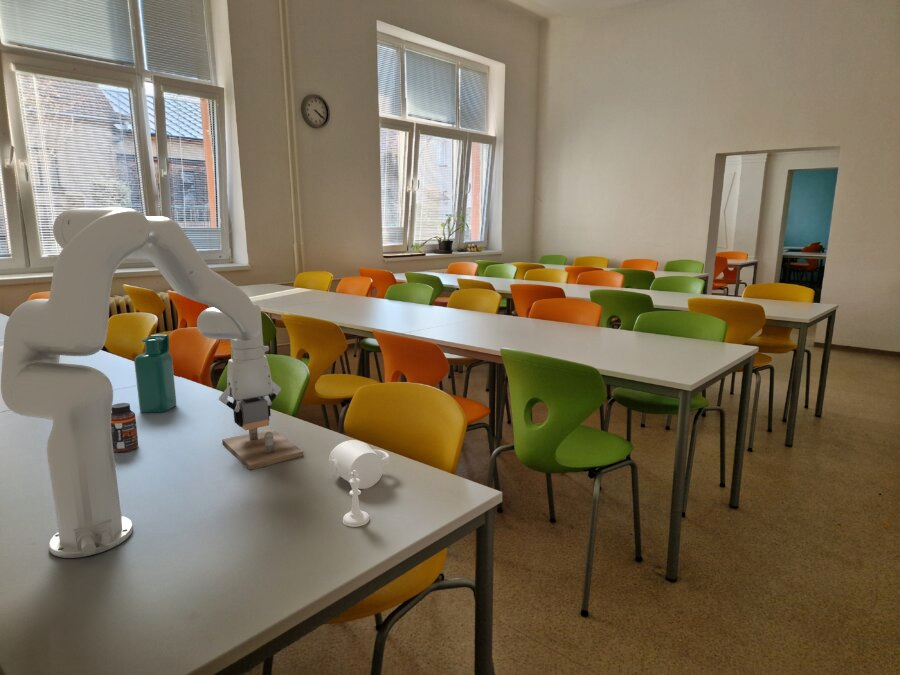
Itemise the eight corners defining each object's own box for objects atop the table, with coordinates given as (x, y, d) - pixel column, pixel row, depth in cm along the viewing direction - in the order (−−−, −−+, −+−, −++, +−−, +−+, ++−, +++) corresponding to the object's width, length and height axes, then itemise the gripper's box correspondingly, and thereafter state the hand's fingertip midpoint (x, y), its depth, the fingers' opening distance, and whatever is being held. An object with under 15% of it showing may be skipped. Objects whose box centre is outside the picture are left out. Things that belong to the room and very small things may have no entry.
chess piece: (357, 511, 111) (355, 462, 109) (374, 519, 108) (373, 469, 106) (337, 521, 108) (335, 471, 106) (354, 529, 105) (353, 478, 103)
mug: (346, 494, 119) (345, 458, 117) (328, 478, 126) (327, 443, 125) (397, 480, 125) (396, 445, 124) (377, 465, 133) (377, 432, 131)
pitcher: (165, 413, 170) (157, 340, 165) (137, 412, 170) (128, 340, 166) (181, 403, 179) (174, 333, 175) (154, 402, 179) (147, 333, 175)
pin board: (303, 455, 138) (302, 431, 137) (249, 469, 130) (247, 444, 129) (272, 432, 154) (270, 410, 152) (222, 443, 146) (220, 420, 144)
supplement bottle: (126, 454, 139) (121, 409, 137) (105, 452, 141) (100, 407, 138) (144, 444, 145) (139, 402, 143) (123, 443, 146) (118, 400, 144)
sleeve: (260, 418, 150) (258, 395, 148) (269, 425, 145) (267, 400, 144) (237, 423, 146) (235, 399, 145) (245, 430, 141) (243, 405, 140)
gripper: (275, 345, 150) (280, 411, 153) (207, 355, 139) (213, 425, 143) (287, 350, 144) (291, 419, 148) (216, 361, 134) (222, 434, 137)
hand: (253, 421), depth 145 cm, fingers closed on sleeve, 6 cm apart
